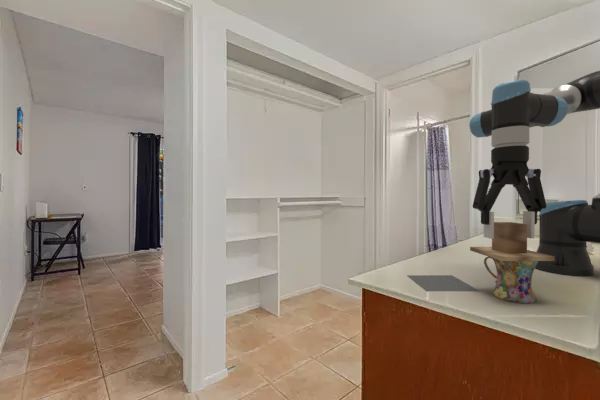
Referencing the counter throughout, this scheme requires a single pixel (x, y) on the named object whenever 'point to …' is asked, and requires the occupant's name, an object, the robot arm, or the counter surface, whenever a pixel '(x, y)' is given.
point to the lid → (511, 244)
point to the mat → (441, 283)
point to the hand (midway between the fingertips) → (508, 237)
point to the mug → (513, 280)
